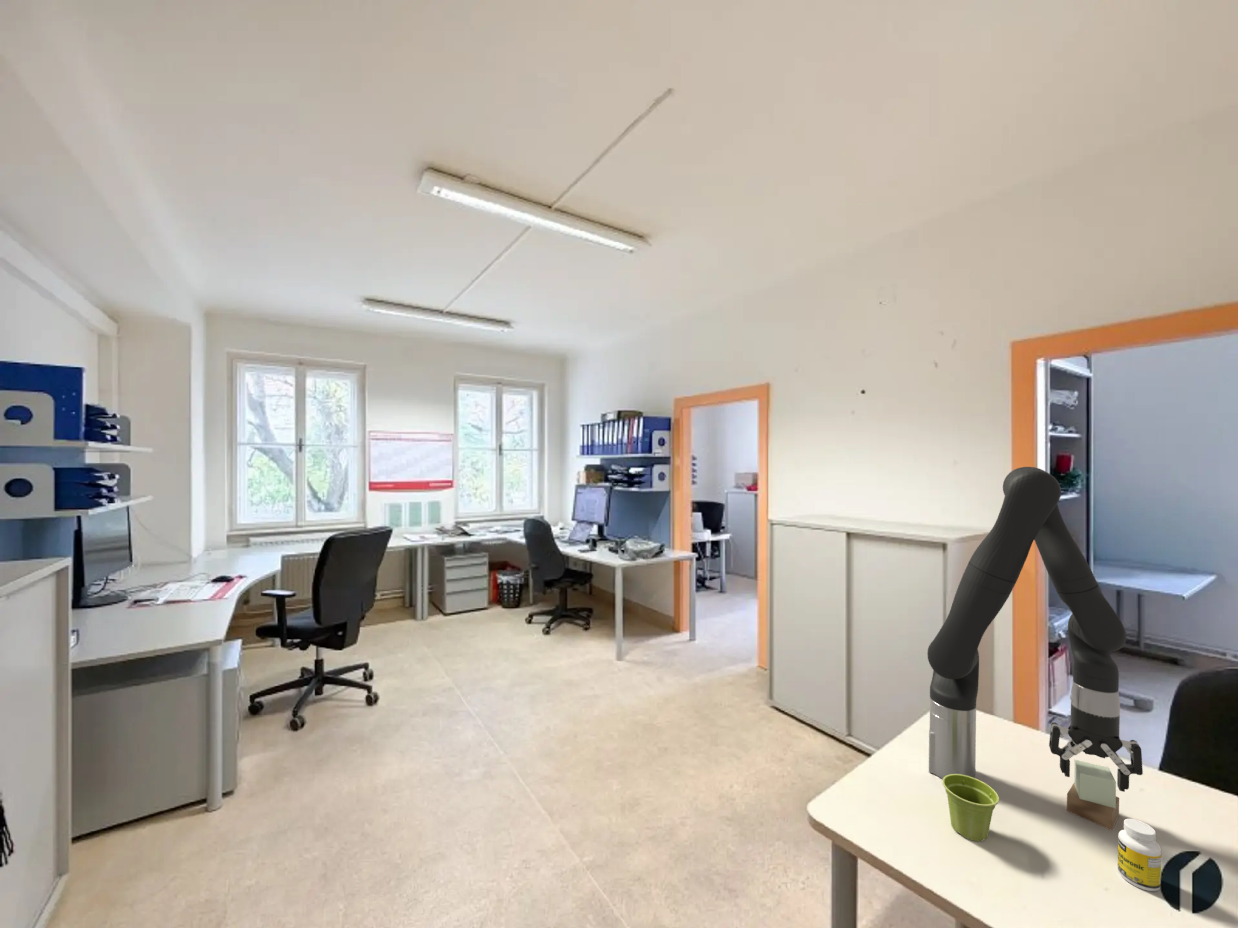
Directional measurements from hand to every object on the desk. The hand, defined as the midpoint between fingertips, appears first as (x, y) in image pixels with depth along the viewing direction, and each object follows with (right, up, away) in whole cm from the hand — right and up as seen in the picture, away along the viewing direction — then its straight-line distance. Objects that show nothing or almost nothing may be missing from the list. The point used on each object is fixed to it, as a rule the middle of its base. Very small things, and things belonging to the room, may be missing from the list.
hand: (1093, 781), depth 108 cm
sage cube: (0, -3, 0) cm, 3 cm away
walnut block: (0, -7, 0) cm, 7 cm away
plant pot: (-29, -7, -5) cm, 30 cm away
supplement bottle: (-7, -7, -17) cm, 19 cm away
